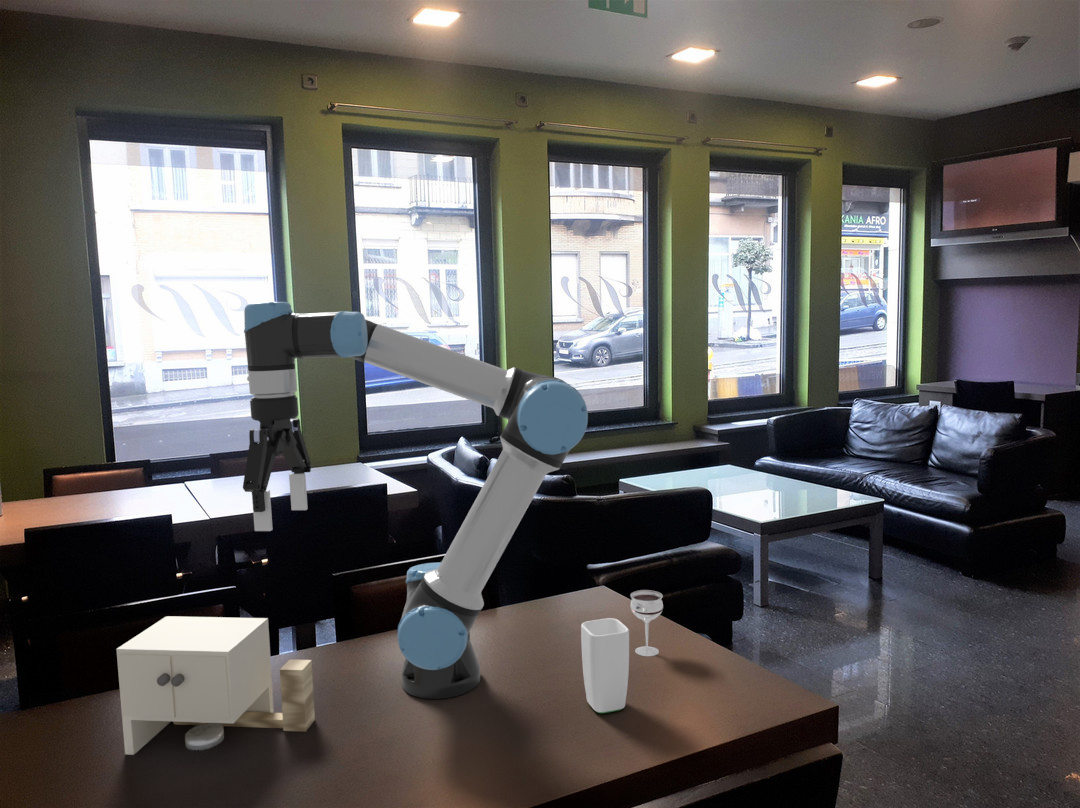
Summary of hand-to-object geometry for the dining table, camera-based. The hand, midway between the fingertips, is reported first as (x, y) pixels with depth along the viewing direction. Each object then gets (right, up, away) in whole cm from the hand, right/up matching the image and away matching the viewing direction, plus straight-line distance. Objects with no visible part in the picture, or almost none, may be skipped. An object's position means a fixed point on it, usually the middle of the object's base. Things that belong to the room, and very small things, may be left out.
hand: (282, 519), depth 133 cm
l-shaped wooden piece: (-8, -36, +4) cm, 38 cm away
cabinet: (-14, -37, +1) cm, 39 cm away
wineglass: (+66, -32, +30) cm, 80 cm away
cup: (+56, -35, +8) cm, 66 cm away
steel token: (-13, -37, -1) cm, 39 cm away
